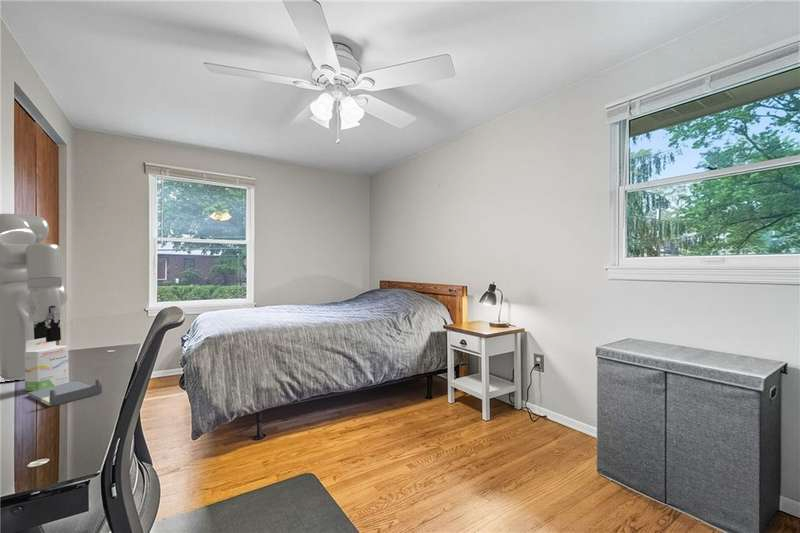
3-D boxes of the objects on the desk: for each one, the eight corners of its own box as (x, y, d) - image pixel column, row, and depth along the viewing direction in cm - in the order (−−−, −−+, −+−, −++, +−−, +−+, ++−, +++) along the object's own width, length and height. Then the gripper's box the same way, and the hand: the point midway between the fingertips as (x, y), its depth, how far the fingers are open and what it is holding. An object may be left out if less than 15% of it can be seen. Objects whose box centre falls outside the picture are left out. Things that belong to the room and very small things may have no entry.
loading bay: (28, 395, 101) (27, 381, 101) (77, 384, 111) (76, 371, 110) (51, 406, 93) (50, 391, 93) (102, 393, 102) (101, 379, 102)
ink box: (37, 392, 104) (35, 341, 104) (24, 391, 105) (22, 341, 105) (70, 382, 113) (68, 335, 113) (57, 381, 114) (56, 335, 114)
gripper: (18, 285, 110) (20, 341, 110) (38, 284, 101) (40, 344, 101) (50, 283, 116) (53, 336, 116) (72, 282, 108) (74, 339, 108)
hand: (47, 340), depth 109 cm, fingers open, 9 cm apart
